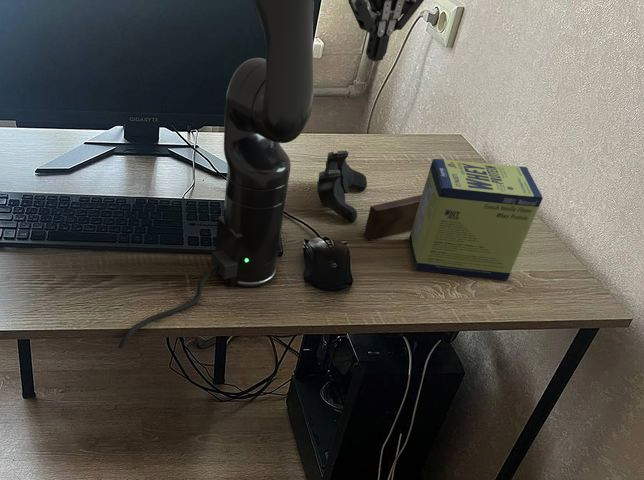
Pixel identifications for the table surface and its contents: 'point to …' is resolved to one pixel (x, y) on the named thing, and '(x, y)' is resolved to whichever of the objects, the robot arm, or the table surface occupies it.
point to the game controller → (339, 184)
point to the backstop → (391, 218)
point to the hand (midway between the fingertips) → (374, 59)
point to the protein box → (473, 218)
